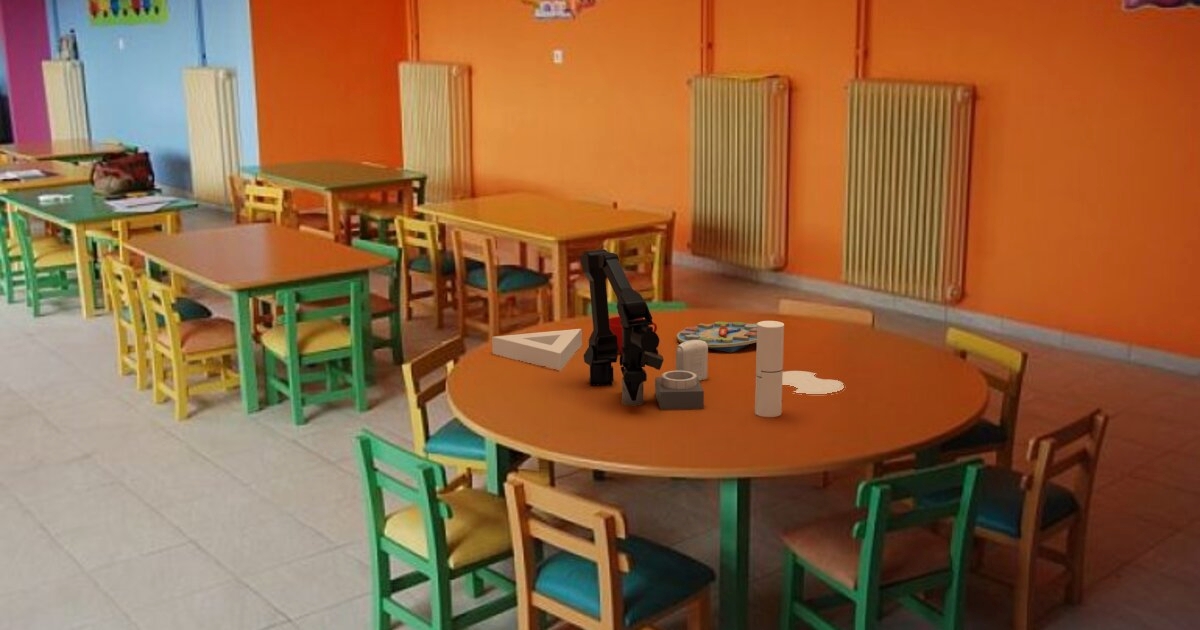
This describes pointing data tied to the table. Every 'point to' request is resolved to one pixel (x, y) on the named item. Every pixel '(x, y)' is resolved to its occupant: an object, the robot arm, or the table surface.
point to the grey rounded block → (627, 399)
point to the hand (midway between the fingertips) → (632, 397)
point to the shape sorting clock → (721, 335)
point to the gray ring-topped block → (679, 391)
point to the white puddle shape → (810, 383)
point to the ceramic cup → (620, 330)
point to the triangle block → (540, 347)
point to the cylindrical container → (769, 368)
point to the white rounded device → (693, 358)
